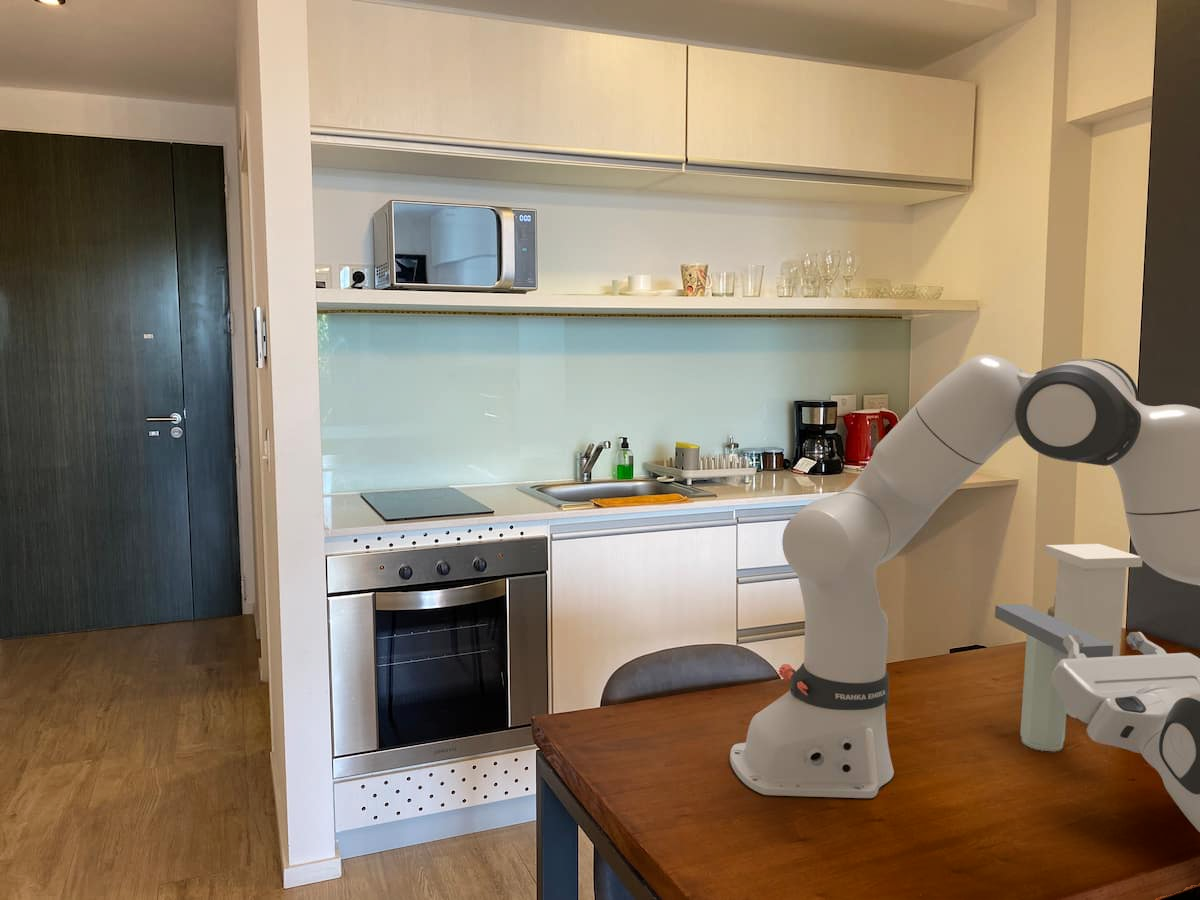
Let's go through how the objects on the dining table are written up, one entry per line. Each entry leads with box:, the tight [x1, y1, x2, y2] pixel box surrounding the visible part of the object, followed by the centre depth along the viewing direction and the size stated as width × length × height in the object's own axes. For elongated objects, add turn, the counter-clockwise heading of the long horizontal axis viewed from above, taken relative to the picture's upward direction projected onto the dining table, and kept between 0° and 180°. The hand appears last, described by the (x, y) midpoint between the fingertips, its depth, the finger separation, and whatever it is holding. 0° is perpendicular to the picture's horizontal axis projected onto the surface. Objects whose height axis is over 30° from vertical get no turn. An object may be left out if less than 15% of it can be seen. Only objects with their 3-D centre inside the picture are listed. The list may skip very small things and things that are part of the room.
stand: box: [1044, 543, 1144, 719], centre depth 150 cm, size 10×10×26 cm
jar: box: [1019, 634, 1068, 753], centre depth 136 cm, size 6×6×16 cm
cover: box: [994, 603, 1113, 658], centre depth 134 cm, size 5×20×2 cm, turn 8°
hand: (1101, 636), depth 124 cm, fingers open, 8 cm apart
